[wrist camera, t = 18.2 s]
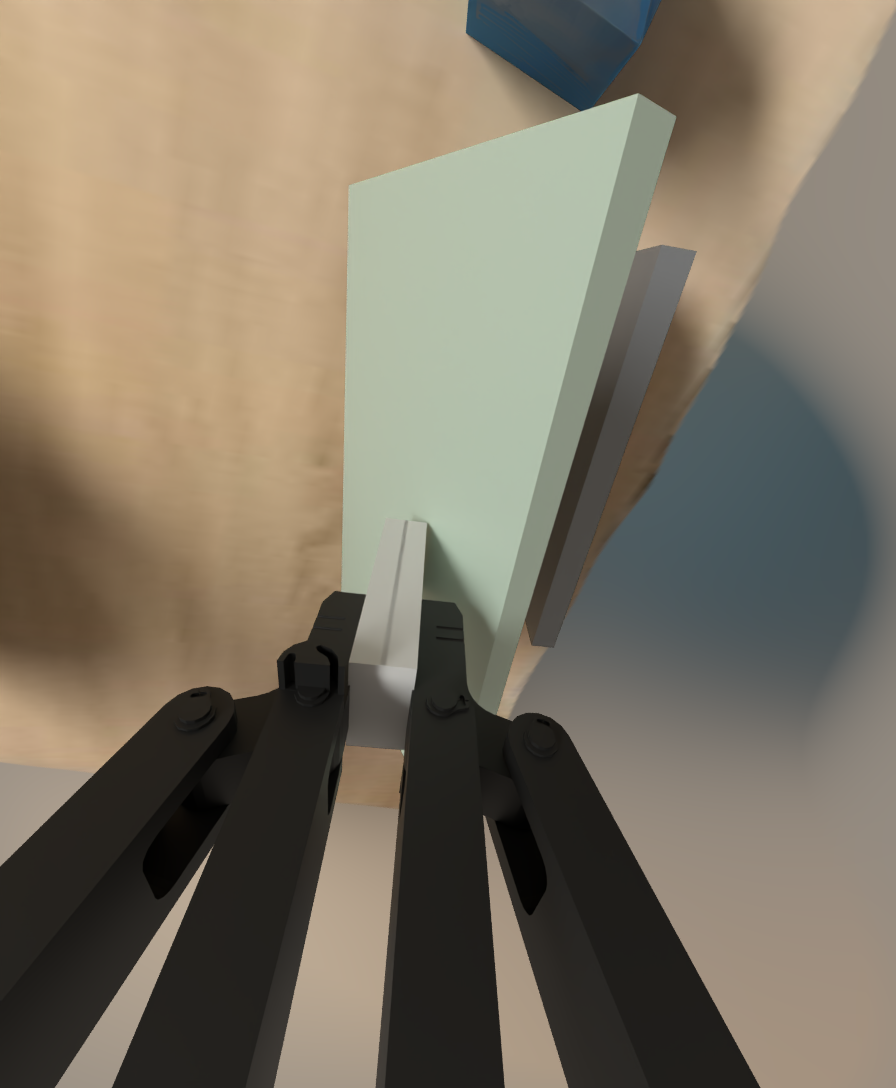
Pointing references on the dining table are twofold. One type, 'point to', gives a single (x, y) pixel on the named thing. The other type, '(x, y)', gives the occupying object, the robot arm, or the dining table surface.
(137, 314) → the dining table surface
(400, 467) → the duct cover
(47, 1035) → the robot arm
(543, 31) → the perfume bottle
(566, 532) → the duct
